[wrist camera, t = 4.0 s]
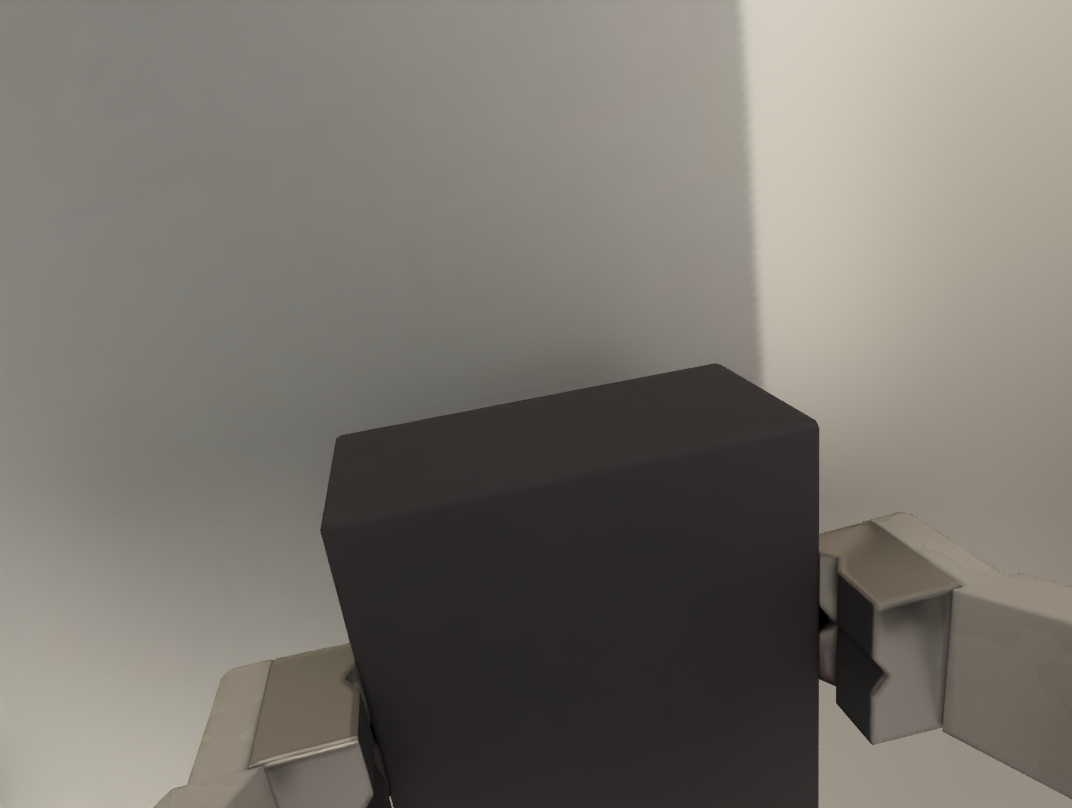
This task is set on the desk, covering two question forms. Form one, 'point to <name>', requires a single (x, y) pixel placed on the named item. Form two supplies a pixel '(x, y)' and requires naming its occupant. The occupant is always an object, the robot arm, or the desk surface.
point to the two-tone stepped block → (588, 597)
